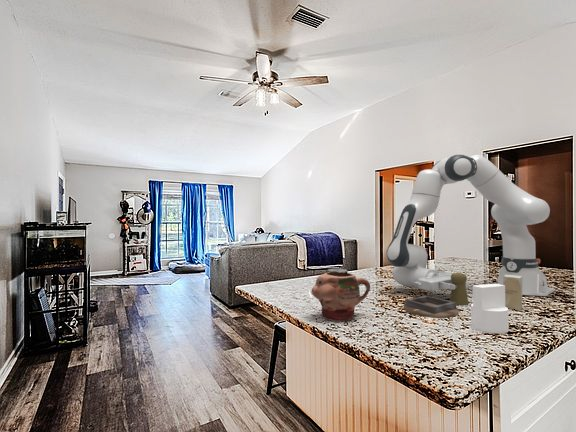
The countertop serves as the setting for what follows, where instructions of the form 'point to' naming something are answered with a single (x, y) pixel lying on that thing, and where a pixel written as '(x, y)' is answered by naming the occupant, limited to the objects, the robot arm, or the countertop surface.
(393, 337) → the countertop surface
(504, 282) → the box
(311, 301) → the countertop surface
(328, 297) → the sculpted clay mug
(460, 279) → the cork
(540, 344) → the countertop surface
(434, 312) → the base
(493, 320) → the base with upright slab
